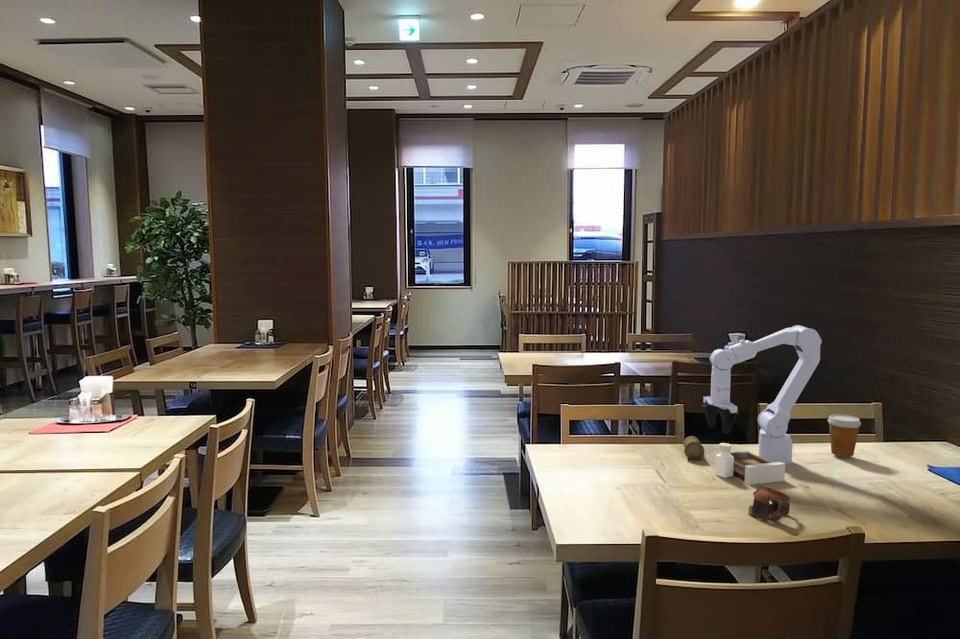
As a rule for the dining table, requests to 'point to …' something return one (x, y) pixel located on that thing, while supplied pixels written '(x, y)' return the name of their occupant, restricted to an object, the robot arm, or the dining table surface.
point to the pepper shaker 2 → (724, 461)
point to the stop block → (764, 473)
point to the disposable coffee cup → (843, 434)
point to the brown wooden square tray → (745, 461)
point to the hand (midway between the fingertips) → (718, 429)
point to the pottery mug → (765, 509)
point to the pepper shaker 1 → (693, 448)
